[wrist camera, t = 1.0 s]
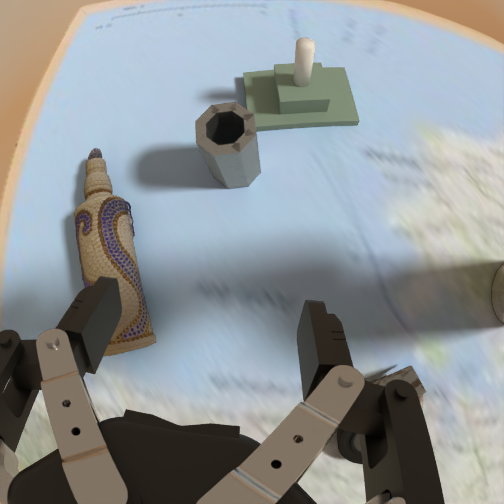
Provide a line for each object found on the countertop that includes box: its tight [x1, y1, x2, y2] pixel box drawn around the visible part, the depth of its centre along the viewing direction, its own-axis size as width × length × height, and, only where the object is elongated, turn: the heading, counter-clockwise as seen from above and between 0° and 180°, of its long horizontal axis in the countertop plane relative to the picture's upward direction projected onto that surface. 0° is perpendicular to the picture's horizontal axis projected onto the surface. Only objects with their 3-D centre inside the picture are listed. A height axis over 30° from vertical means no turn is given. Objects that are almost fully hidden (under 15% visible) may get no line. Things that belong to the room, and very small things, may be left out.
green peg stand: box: [243, 38, 359, 131], centre depth 34 cm, size 14×9×11 cm, turn 95°
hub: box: [195, 102, 261, 189], centre depth 34 cm, size 6×6×10 cm
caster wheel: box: [337, 366, 426, 464], centre depth 31 cm, size 7×11×10 cm
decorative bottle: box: [74, 148, 156, 356], centre depth 35 cm, size 26×8×7 cm, turn 14°
